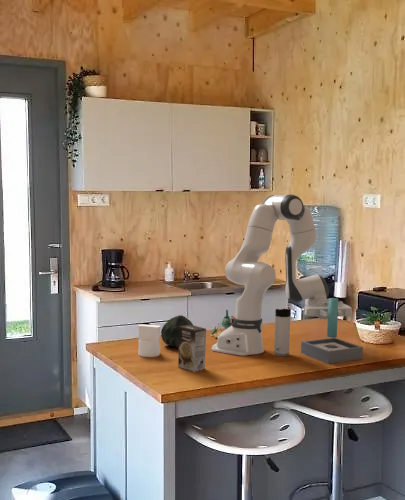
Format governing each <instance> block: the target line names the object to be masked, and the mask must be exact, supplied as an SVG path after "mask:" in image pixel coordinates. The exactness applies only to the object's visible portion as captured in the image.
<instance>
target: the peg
mask: <svg viewBox="0 0 405 500" xmlns="http://www.w3.org/2000/svg"><path fill="white" fill-rule="evenodd" d="M328 299H329V304H328V312H329V316H328V318H327V329H326V330H327V331H326V337H328V338H337V337H338V321H339V320H338V317H339V316H338V301H339V298H336V297H330V298H328Z"/></svg>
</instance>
